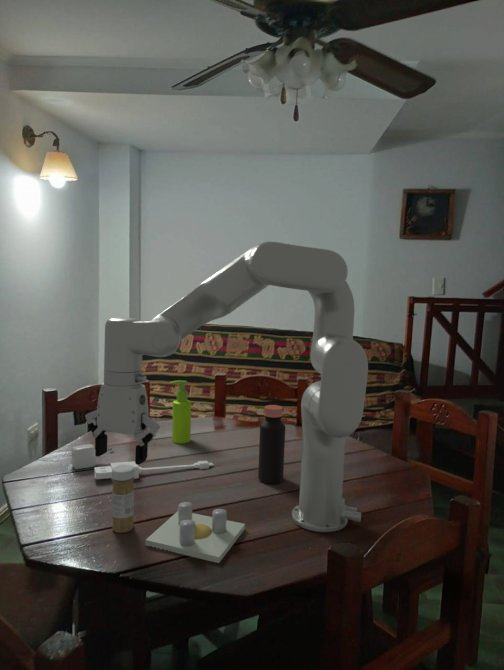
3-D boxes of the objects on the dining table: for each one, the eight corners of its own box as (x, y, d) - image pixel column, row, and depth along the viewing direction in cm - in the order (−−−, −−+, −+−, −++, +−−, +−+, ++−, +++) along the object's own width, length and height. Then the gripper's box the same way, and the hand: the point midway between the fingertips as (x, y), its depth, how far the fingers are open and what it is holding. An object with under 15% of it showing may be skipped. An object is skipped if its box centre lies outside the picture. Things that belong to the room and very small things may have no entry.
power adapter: (110, 459, 146) (110, 439, 145) (115, 464, 142) (115, 444, 141) (70, 465, 140) (70, 445, 140) (74, 471, 136) (74, 450, 136)
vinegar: (287, 478, 136) (290, 406, 134) (274, 486, 131) (278, 412, 128) (266, 472, 140) (269, 402, 138) (253, 480, 134) (255, 407, 132)
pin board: (244, 529, 108) (245, 506, 107) (218, 563, 95) (219, 537, 94) (178, 515, 113) (178, 493, 113) (145, 545, 100) (145, 520, 100)
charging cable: (215, 473, 141) (215, 461, 141) (95, 483, 129) (96, 470, 128) (209, 466, 146) (210, 455, 146) (93, 475, 133) (94, 463, 133)
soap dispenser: (167, 438, 166) (168, 379, 164) (188, 437, 168) (189, 378, 166) (170, 444, 160) (171, 383, 158) (191, 442, 163) (193, 382, 160)
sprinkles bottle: (128, 521, 110) (128, 462, 108) (137, 529, 106) (138, 468, 105) (108, 527, 107) (108, 466, 105) (117, 536, 103) (117, 473, 102)
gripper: (169, 379, 103) (166, 459, 105) (98, 370, 109) (97, 446, 111) (149, 386, 96) (147, 472, 98) (75, 376, 102) (74, 457, 104)
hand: (120, 458), depth 105 cm, fingers open, 9 cm apart
